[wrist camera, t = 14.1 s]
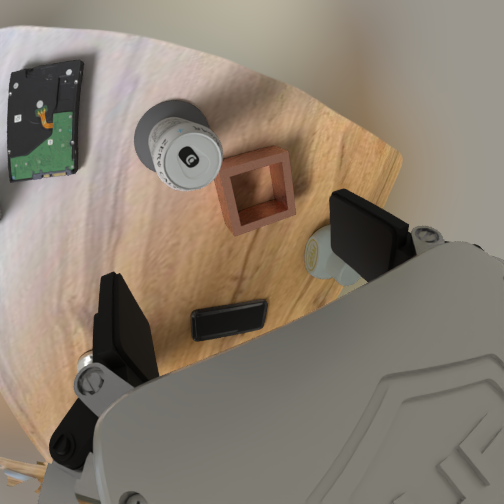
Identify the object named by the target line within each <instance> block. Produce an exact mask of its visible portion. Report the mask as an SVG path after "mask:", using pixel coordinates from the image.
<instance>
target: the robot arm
mask: <svg viewBox="0 0 504 504" xmlns="http://www.w3.org/2000/svg"><path fill="white" fill-rule="evenodd" d="M329 204H330V235H331V249H332V251H333V252H334V253H335V254H336V255H337V256H338V257H339V258H340V259H342V260H343V261H344V262H345V263H346V264H347V265H349V266H350V267H351V268H352V269H353V270H354V271H356V272H357V273H358V274H359V275H360V276H361V277H362V278H364V279H365V280H366V281H367V282H368V283H366V284H364V285H363V286H361V287H359V288H357V289H355V290H353V291H351V292H349V293H347V294H346V295H344V296H342V297H340V298H338V299H336V300H334V301H332V302H330V303H328V304H326V305H324V306H322V307H320V308H318V309H316V310H314V311H312V312H310V313H308V314H306V315H303V316H301V317H299V318H297V319H295V320H293V321H291V322H289V323H287V324H284V325H282V326H280V327H278V328H276V329H273V330H271V331H269V332H267V333H265V334H262V335H260V336H258V337H256V338H253V339H251V340H249V341H246V342H244V343H242V344H239V345H237V346H235V347H232V348H230V349H227V350H225V351H222V352H220V353H218V354H215V355H213V356H210V357H208V358H205V359H203V360H200V361H198V362H195V363H192V364H190V365H187V366H185V367H182V368H180V369H177V370H175V371H172V372H170V373H167V374H165V375H162V376H160V377H159V372H158V367H157V363H156V358H155V352H154V347H153V342H152V336H151V330H150V326H149V323H148V321H147V319H146V317H145V315H144V314H143V312H142V310H141V309H140V307H139V305H138V304H137V302H136V300H135V299H134V297H133V295H132V293H131V291H130V290H129V288H128V286H127V284H126V282H125V281H124V279H123V277H122V275H121V274H120V273H119V274H116V273H115V272H111V273H109V274H106V275H104V276H102V277H101V282H100V293H99V307H98V313H96V314H95V315H94V326H93V351H90V352H87V353H85V354H84V355H82V356H81V357H80V359H79V360H78V365H77V370H78V374H77V375H76V378H75V380H74V391H75V393H76V395H77V396H78V399H77V400H76V402H75V403H74V404H73V406H72V407H71V409H70V410H69V411H68V413H67V414H66V416H65V417H64V419H63V420H62V421H61V423H60V424H59V426H58V427H57V429H56V430H55V432H54V433H53V435H52V437H51V439H50V443H49V451H50V454H51V457H52V458H53V462H52V464H50V463H48V466H47V469H46V472H45V476H44V480H43V483H42V487H41V491H40V495H39V499H38V504H504V260H502V259H500V258H497V257H494V256H491V255H489V254H488V253H486V252H485V251H484V250H483V249H482V248H481V247H480V246H478V245H476V244H470V243H468V242H461V241H457V242H456V241H455V242H447V241H444V239H443V237H442V235H441V233H440V232H438V231H437V230H436V229H434V228H431V227H428V226H417V227H415V228H413V230H412V231H411V233H410V232H408V228H409V224H407V223H405V222H404V221H402V220H400V219H399V218H397V217H395V216H394V215H392V214H390V213H389V212H387V211H385V210H383V209H382V208H380V207H378V206H376V205H374V204H373V203H371V202H369V201H367V200H365V199H364V198H362V197H360V196H358V195H356V194H354V193H352V192H350V191H348V190H347V189H340V190H337V191H334V192H333V193H332V195H331V196H330V198H329Z"/></svg>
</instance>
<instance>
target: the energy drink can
mask: <svg viewBox="0 0 504 504" xmlns="http://www.w3.org/2000/svg"><path fill="white" fill-rule="evenodd" d="M149 149H150V152H151V156H152V159H153V163H154V166H155V170H156V172H157V174H158V176H159V178H160V179H161V180H162V181H163V182H164V183H165V184H166V185H167V186H169V187H171V188H172V189H176V190H179V191H193V190H197V189H201V188H203V187H205V186H207V185H208V184H210V183H211V182H212V181H213V180H214V179H215V177H216V176H217V175H218V173H219V170H220V168H221V165H222V161H223V150H222V145H221V142H220V140H219V139H218V137H217V136H216V134H215V133H214V132H213V131H211V130H210V129H209V128H207V127H205V126H203V125H200V124H197V123H194V122H191V121H188V120H185V119H182V118H177V117H170V118H166V119H163V120H161V121H160V122H158V123H157V124H156V125H155V126H154V127H153V129H152V130H151V133H150V135H149Z"/></svg>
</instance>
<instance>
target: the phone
mask: <svg viewBox="0 0 504 504" xmlns="http://www.w3.org/2000/svg"><path fill="white" fill-rule="evenodd" d="M267 306H268V303H267V302H266V300H265V299H260V300H254V301H248V302H242V303H236V304H230V305H224V306H218V307H211V308H205V309H198V310H195V311H193V312H192V313H191V329H192V338H193V340H194V341H197V342H198V341H204V340H210V339H215V338H221V337H226V336H231V335H236V334H241V333H246V332H251V331H255V330H259V329H261V328H263V326H264V322H265V317H266V312H267Z"/></svg>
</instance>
